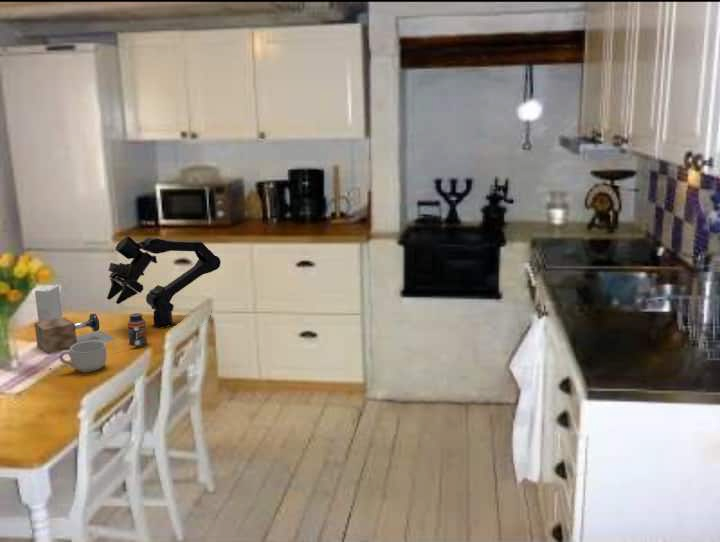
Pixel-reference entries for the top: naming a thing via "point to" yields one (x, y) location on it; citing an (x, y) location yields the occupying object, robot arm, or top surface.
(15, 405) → the top surface
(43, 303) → the skincare box
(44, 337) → the press housing
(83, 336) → the slate board
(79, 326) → the plunger
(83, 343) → the teacup
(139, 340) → the supplement bottle
